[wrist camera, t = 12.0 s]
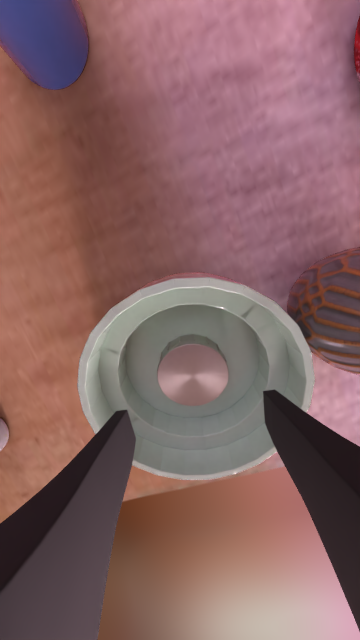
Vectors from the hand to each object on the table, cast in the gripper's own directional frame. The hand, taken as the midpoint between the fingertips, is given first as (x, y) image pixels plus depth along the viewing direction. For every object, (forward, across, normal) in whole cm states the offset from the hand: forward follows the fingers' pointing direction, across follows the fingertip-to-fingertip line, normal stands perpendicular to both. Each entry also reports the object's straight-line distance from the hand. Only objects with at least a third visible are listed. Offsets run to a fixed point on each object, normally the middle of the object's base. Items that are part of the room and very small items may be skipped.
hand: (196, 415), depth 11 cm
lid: (+4, 0, 0) cm, 4 cm away
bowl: (+6, 0, 0) cm, 6 cm away
